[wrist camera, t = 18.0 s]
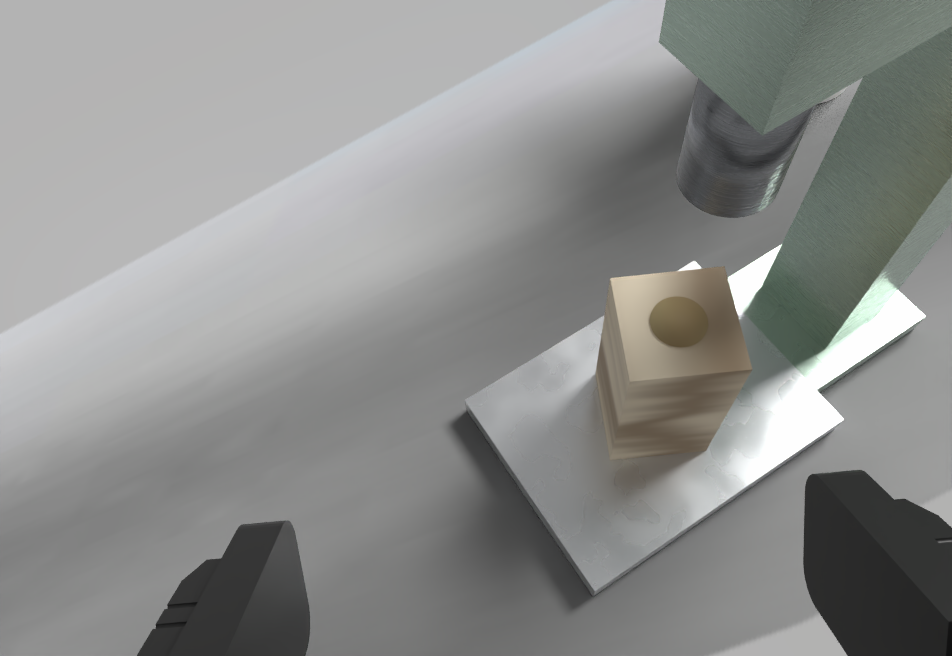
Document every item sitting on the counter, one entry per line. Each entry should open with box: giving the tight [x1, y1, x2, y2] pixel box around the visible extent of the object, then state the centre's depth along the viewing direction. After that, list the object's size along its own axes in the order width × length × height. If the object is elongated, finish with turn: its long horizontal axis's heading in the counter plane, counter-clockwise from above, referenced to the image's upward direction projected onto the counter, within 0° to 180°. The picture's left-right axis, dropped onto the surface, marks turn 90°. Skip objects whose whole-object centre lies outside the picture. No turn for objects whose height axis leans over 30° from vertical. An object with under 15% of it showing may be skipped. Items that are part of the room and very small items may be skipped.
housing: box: [595, 266, 752, 460], centre depth 37 cm, size 5×5×10 cm
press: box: [465, 0, 952, 596], centre depth 32 cm, size 33×12×30 cm, turn 122°
